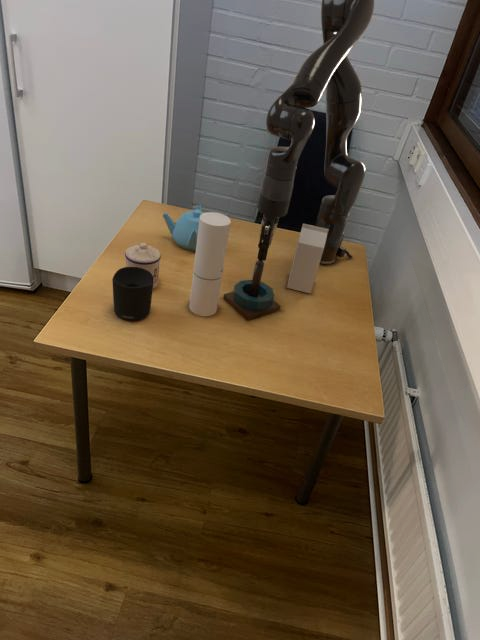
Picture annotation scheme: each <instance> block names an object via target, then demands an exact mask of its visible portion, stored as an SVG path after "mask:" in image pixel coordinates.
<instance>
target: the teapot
mask: <svg viewBox="0 0 480 640" xmlns="http://www.w3.org/2000/svg"><path fill="white" fill-rule="evenodd" d="M203 213H204V212H203V211H202V205H196V207H195V209H192V210H187V211H185V212H184V213H182V214H181V216H179V218H178V219H177V221H173V218H172V217H171V216H170V214H169V213H166V212H164V213H162V217H163V220H164V222H165V224H166V226H167V228H168V230H169V233H170V235H171V237H172V240H173V241H174V243H175V244H176V245H177V246H179V247H180V248H182V249H184V250H188V251H192V252H193V251H194V252H196V245H197V236H198V228H199V219H200V215H201V214H203Z"/></svg>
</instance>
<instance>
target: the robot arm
mask: <svg viewBox="0 0 480 640" xmlns="http://www.w3.org/2000/svg"><path fill="white" fill-rule="evenodd" d="M374 10H375V0H321V6H320V23H321V34H322V45H320V46H319V47H318V48H316V49H315V50H314V51H313V52H312V53H311V54H310V55H309V56H308V57H307V58H306V59H305V60H304V61H303V63H302V65H301V67H300V68H299V70H298V72H297V74H296V76H295V78H294V80H293V82H292V83H291V84H290V85H289V87H287V89H285V90H284V92H283V93H281V95H280V96H279V97H278V98H277V99H276V100H275V101H274V102H273V103H272V104H271V106H270V107H269V109H268V111H267V113H266V116H265V128H266V130H267V132H268V133H269V134H270V135H273V136H275V137H277V138H281V139H285V140H289V141H291V143H290V145H289V146H273V147H271V148H270V149H269V150H268V154H267V159H266V164H265V170H264V175H263V178H262V181H261V187H260V191H259V198H258V203H257V210H258V211H259V213H261V214H263V217H262V219H261V222H260V226H261V227H260V231H259V241H258V244H257V246H258V247H257V248H258V253H257V258H256V259H257V260H262V261H263V262H264V261H266V260H267V257H268V253H269V249H270V246H271V244H272V241H273V239H274V236H275V232H276V229H277V228H278V224H279V220H280V218H282V217H285V216H286V215H287V214H288V212H289V207H290V203H291V199H292V194H293V189H294V182H295V176H296V171H297V166H298V163H299V160H300V157H301V154H302V152H303V151H304V149H305V146H306V144H307V142H308V140H309V139H310V138H311V135H312V133H313V131H314V128H315V124H316V117H315V115H314V113H313V111H312V110H311V109H310V108H314V107H316V105H318V103H319V102H320V101H321V99H322V97H323V94H324V92H325V117H326V119H325V120H326V129H325V130H326V133H325V135H326V137H325V138H326V139H325V153H324V154H325V155H324V156H325V157H324V164H323V165H324V168H323V171H324V178H325V180H326V181H327V182H328V183H329V184H330V185H332V186H334V187H336V188H337V191H336V193H335V194H331V195H330V194H329V195H325V196H324V197H322V199H321V203H320V207H319V210H318V213H317V218H316V221H315V225H314V226H316V227H320V228H325V229H328V233H327V238H326V242H325V246H324V250H323V253H322V257H321V260H320V263H319V265H323V266H324V265H333V264H335V262H336V260H337V259H338V258H340V259H341V258H344V257H345V255H346V256H347V257H348V258H349V259H352V258H353V255H352V254H351V253H350V252H349V251H348V250H347V248H346V247H344V246H342V244H343V240H344V238H345V230H346V226H347V223H348V219H349V216H350V213H351V211H352V208H353V207H354V205H355V203H356V201H357V199H358V196H359V194H360V190H361V188H362V185H363V183H364V180H365V177H366V166H365V164H364V163H363V162H362V161H360V160H359V159H356V158H354V157H352V156H350V155H349V154H348V149H347V146H348V137H349V134H350V132H351V131H352V129H353V128H354V126H355V125H356V124H357V122H358V120H359V119H360V115H361V110H362V91H363V89H362V84H361V80H360V78H359V76H358V74H357V72H356V70H355V67H354V66H353V64H352V63H351V61H350V59H349V57H348V55H349V53H350V52H351V50H352V49H353V48H354V47H355V45H356V43H357V42H358V41H359V39H360V38H361V37H362V35H364V33H365V32H366V30H367V29H368V26H369V24H370V23H371V21H372V18H373V14H374Z"/></svg>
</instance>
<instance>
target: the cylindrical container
mask: <svg viewBox="0 0 480 640" xmlns="http://www.w3.org/2000/svg"><path fill="white" fill-rule="evenodd" d="M231 221H232V219H231V218H230V217H228V216H227V215H226V214H223V213H220V212H213V211H209V212H208V211H207V212H203V214H201V215H200V219H199V228H198V236H197V245H196V251H195V253H194V254H195V255H194V263H193V270H192V280H191V288H190V298H189V310H190V312H191V313H193V314H194V315H195V316H200V317H211V316H213V315H216V313H217V310H218V306H219V305H218V304H219V299H220V298H219V297H220V292H221V286H222V281H223V280H222V279H223V272H224V266H225V261H226V260H225V259H226V255H227V247H228V241H229V234H230V228H231Z"/></svg>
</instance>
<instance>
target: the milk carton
mask: <svg viewBox="0 0 480 640" xmlns="http://www.w3.org/2000/svg"><path fill="white" fill-rule="evenodd" d="M327 233H328V229H325V228H320V227H316V226H315V225H311V224H307V223H302V226H301V229H300V233H299V237H298V242H297V245H296V249H295V253H294V257H293V261H292V265H291V269H290V272H289V276H288V280H287V285H286V288H287V289H291V290H294V291H298V292H303V293H306V294H311V293H312V291H313V287H314V284H315V281H316V277H317V273H318V269H319V267H320V264H319V263H320V260H321V257H322V253H323V250H324V246H325V242H326V238H327Z"/></svg>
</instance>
